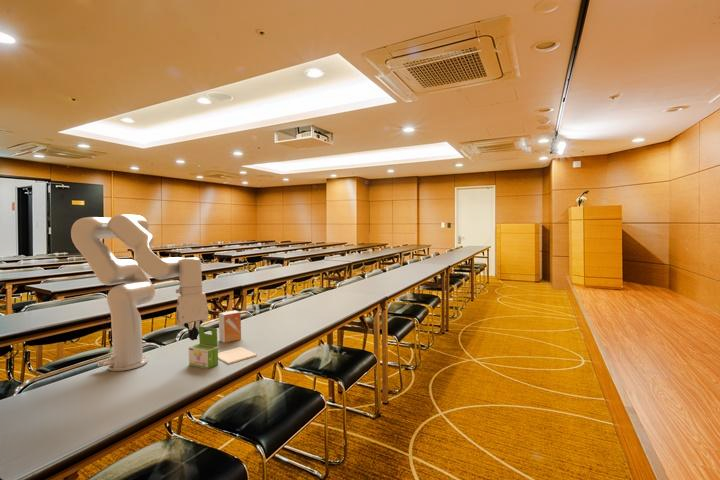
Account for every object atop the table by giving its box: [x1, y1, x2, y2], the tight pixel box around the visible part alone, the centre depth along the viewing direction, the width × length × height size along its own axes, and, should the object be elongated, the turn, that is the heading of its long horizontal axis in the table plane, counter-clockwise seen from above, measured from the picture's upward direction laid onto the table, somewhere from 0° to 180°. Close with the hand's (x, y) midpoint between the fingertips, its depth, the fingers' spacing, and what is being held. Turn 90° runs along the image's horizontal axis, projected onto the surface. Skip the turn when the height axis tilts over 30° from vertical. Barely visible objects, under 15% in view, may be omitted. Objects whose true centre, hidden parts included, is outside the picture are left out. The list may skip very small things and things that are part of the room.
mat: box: [218, 346, 258, 365], centre depth 143 cm, size 12×14×1 cm
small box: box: [218, 309, 242, 344], centre depth 165 cm, size 8×6×13 cm
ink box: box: [188, 325, 219, 370], centre depth 134 cm, size 10×5×14 cm, turn 65°
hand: (193, 339), depth 131 cm, fingers closed
